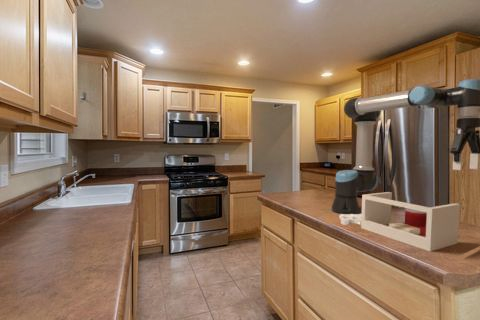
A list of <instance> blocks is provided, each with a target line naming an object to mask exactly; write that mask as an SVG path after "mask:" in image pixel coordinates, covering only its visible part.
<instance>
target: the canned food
mask: <svg viewBox="0 0 480 320" xmlns="http://www.w3.org/2000/svg"><path fill="white" fill-rule="evenodd" d="M404 213H405V214H404V224H406V225H409V226H413V227H416V228H419V229H420V234H418V235H419V236H422V237H426V221H427V212H422V211H417V210H413V209H408V208H405V212H404Z"/></svg>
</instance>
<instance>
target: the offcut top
mask: <svg viewBox="0 0 480 320" xmlns="http://www.w3.org/2000/svg"><path fill="white" fill-rule="evenodd" d="M388 227H392V228H395V229H399V230H402V231H405V232H409V233H412V234H415V235H416V234H420V229H419V228H416V227H413V226H409V225H406V224H405V223H404V222H391V223H389V224H388Z"/></svg>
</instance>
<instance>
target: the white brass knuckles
mask: <svg viewBox="0 0 480 320" xmlns="http://www.w3.org/2000/svg"><path fill="white" fill-rule="evenodd" d="M361 216H362V213H359V214H340V213H339V214H338V217H339V220H340V224H341V225H343V226H348V225H352V224H356V225H357V224H358V225H359V226H361Z"/></svg>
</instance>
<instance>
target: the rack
mask: <svg viewBox="0 0 480 320" xmlns="http://www.w3.org/2000/svg"><path fill="white" fill-rule="evenodd" d="M361 196H362V197H361V214H362V216H361V225H360V228H361V229H363V230H366V231H369V232H372V233H375V234H377V235H381V236H383V237H386V238H389V239H392V240H395V241H398V242H401V243H405V244H407V245H409V246H413V247H415V248H418V249H422V250H425V251H428V252H432V251H433V252H434V251H436V250H440V249H443V248H447V247H449V246H453V245H456V244H458V243H459V228H460V227H459V226H460V225H459V224H460V211H461V206H460V203H455V202H454V203H448V204H442V205H436V206H432V207H431V206H430V207H428V206H424V205H418V204H414V203H409V202H403V201H399V200H393V192H390V191H387V192H386V191H385V192H376V193H367V194H362V195H361ZM392 206H394V207H399V208H405V209H406V208H408V209H413V210H417V211H422V212H427V221H426V236H419V235H415V234H412V233H409V232H405V231H402V230H399V229H395V228H392V227H389V223H392Z"/></svg>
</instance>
